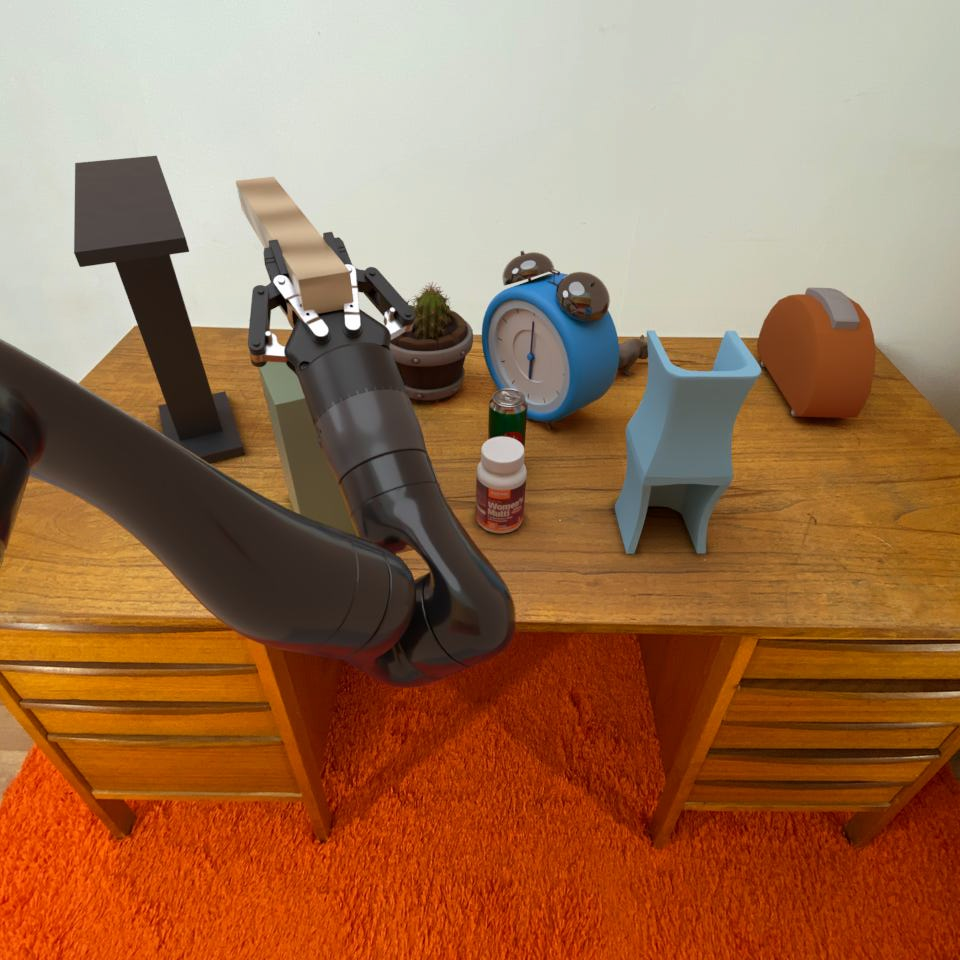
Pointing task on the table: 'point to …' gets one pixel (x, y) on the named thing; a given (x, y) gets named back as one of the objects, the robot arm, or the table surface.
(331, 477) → the green block
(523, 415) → the soda can
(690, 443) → the blue doll chair
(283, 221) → the ash stick
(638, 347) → the rhino figurine
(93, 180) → the stand
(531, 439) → the table surface
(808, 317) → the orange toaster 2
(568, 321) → the alarm clock
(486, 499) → the pill bottle
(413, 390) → the flowerpot
